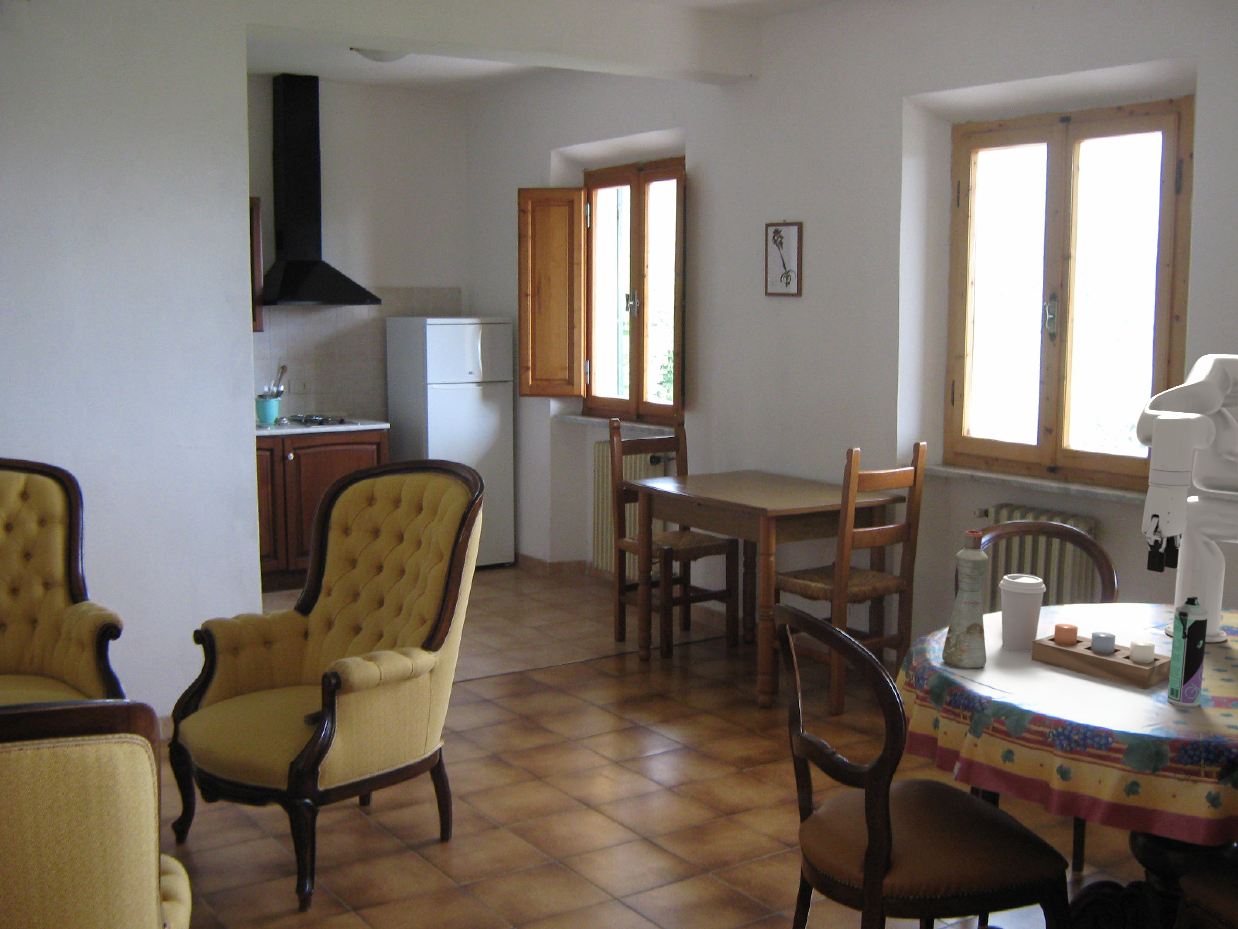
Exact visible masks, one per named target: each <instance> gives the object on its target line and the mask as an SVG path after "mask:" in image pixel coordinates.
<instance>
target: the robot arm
mask: <svg viewBox="0 0 1238 929" xmlns="http://www.w3.org/2000/svg"><path fill="white" fill-rule="evenodd" d="M1227 409H1235V410H1236V409H1237V410H1238V354H1223V353H1222V354H1221V353H1220V354H1219V353H1217V354H1216V353H1215V354H1212V353H1211V354H1207V355H1203V356H1202V357H1200V358H1199V359H1197V361H1195V363H1194V364H1193V366H1192V368H1191V370H1190V371H1189V373H1188V375H1187V377H1186V378H1185V381H1184V382H1183V384H1181V385H1179V386H1175V387H1172V388H1169V389H1168V390H1165V391H1162V392H1161V393H1159V394H1157V395H1155V396H1153V397H1152V398H1150V399H1149V400H1148V402H1147V403H1146V405H1145V406H1144V408H1143V410H1142V412H1141V414H1140V415H1139V418H1138V421H1137V424H1136V430H1135V432H1136V437H1137V440H1138V442H1139V443H1140V444H1141V445H1142V446H1144V447H1147V448H1151V451H1150V452H1151V453H1150V463H1149V473H1148V489H1147V494H1146V496H1145V497H1146V498H1145V502H1144V507H1143V508H1144V510H1143V515H1142V523H1141V524H1142V525H1141V533H1142V534H1143V535H1145V539H1146V542H1147V563H1146V564H1147V566H1146V569H1147V571H1151V572H1156V573H1164V572H1165V569H1166V568H1169V569H1177V571H1176V581H1175V596H1174V604H1173V616H1172V617H1173V618H1172V623H1169V624H1167V625H1165V626H1164V632H1165V634H1167V635H1169V636H1171V637H1173V629H1174V618H1175V612H1176V608H1177V607H1180V606H1182V605H1184V603H1185V602H1186V601H1187V598H1190V597H1197V602H1198V604H1200V607H1202V608H1203V609H1204V610H1206V611H1207V616H1208V618H1207V629H1206V640H1205V643H1221V642H1224V641H1226V640H1227V637H1228V636H1227V633H1226V632H1225V631H1224V630H1221V629H1220V626H1221V622H1223V621H1224V616H1223V614H1222V613H1221V612H1222V604H1223V594H1224V585H1225V584H1224V581H1225V574H1226V573H1225V570H1226V558H1225V556H1224V553H1223V552H1222V551H1221V549H1220V548H1219V546H1218V545H1217V543H1216V542H1225V543H1231V544H1233V543H1234V544H1238V499H1237V498H1236V499H1235V498H1227V497H1219V496H1207V495H1191V496H1189V494H1188V491H1189V490H1188V489H1190V488H1191V482H1192V484H1193V486H1194V487H1195V488H1197V489H1199V490H1201V491H1205V492H1212V493H1218V494H1219V493H1220V494H1230V495H1236V496H1237V495H1238V422H1237V421H1236V419H1235V418H1234V417H1233V416H1232V414H1231V413H1230V412H1229V411H1228V410H1227ZM1158 534H1160V535H1158Z"/></svg>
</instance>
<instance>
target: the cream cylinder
mask: <svg viewBox="0 0 1238 929" xmlns="http://www.w3.org/2000/svg"><path fill="white" fill-rule="evenodd" d="M1129 647H1130V656H1129V660H1132V661H1137V662H1141V663H1145V664H1151V663H1153V662H1154V653H1155V648H1156V646H1155V644H1154V643H1153V642H1148V641H1144V640H1133V641H1130V646H1129Z"/></svg>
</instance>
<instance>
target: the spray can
mask: <svg viewBox="0 0 1238 929" xmlns="http://www.w3.org/2000/svg"><path fill="white" fill-rule="evenodd" d="M1207 618H1208V616H1207V611H1206V610H1204V609H1203V608H1202V607H1200V604H1198V602H1197V597H1190V598H1187V601H1186V602H1185V603H1184V605H1182V606H1180V607H1177V608H1176V612H1175V618H1174V629H1173V636H1172V642H1171V652H1170V654H1171V655H1170V657H1171V664H1170V676H1169V680H1168V688H1167V689H1168V690H1167V701H1168V702H1169V703H1170V704H1173V705H1175V706H1180V707H1185V708H1186V707H1187V708H1196V707H1199V706H1200V704H1201V694H1202V682H1203V672H1204V660H1205V659H1204V658H1205V649H1206V642H1205V640H1206V629H1207Z"/></svg>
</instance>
